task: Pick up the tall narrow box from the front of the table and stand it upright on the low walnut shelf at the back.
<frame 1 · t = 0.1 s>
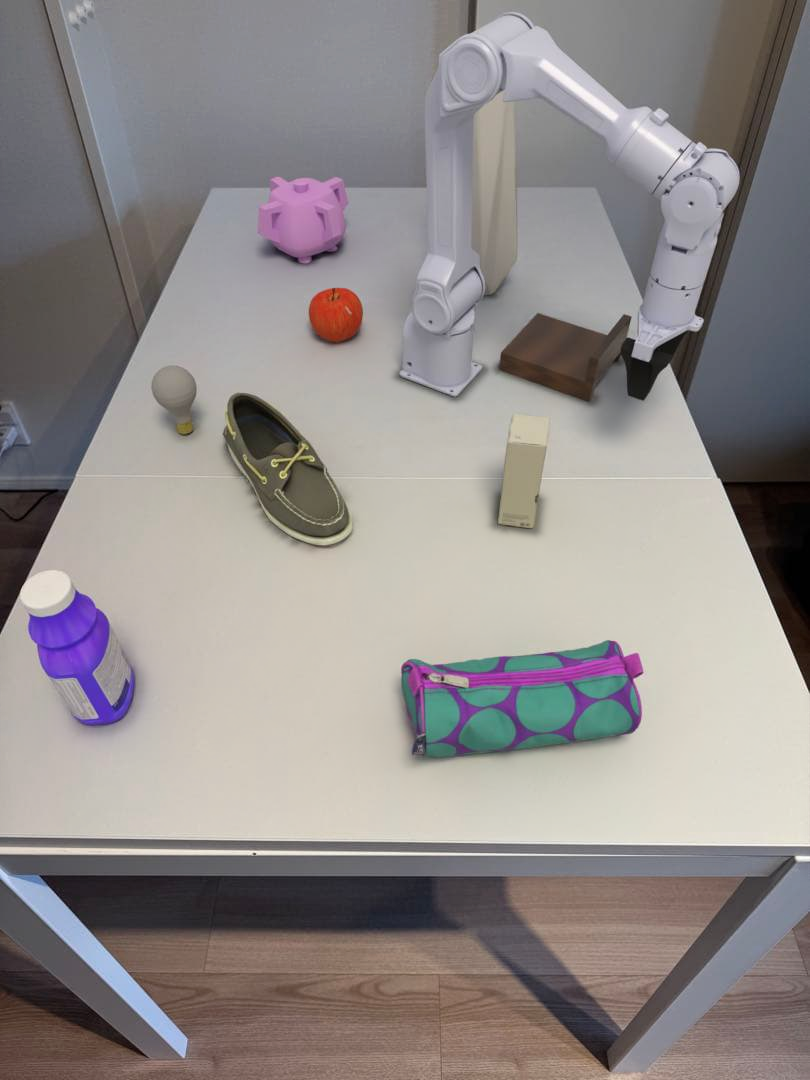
hand: (647, 379, 93), 10 cm above the table, tool pointing down, fingers open, 7 cm apart
bottle: (107, 698, 76), on the table
pencil case: (513, 723, 74), on the table
light bulb: (187, 433, 103), on the table
apple: (337, 336, 117), on the table
vase: (476, 285, 127), on the table
box: (517, 513, 92), on the table
boat shoe: (289, 487, 96), on the table
shelf: (560, 364, 112), on the table
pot: (307, 249, 135), on the table
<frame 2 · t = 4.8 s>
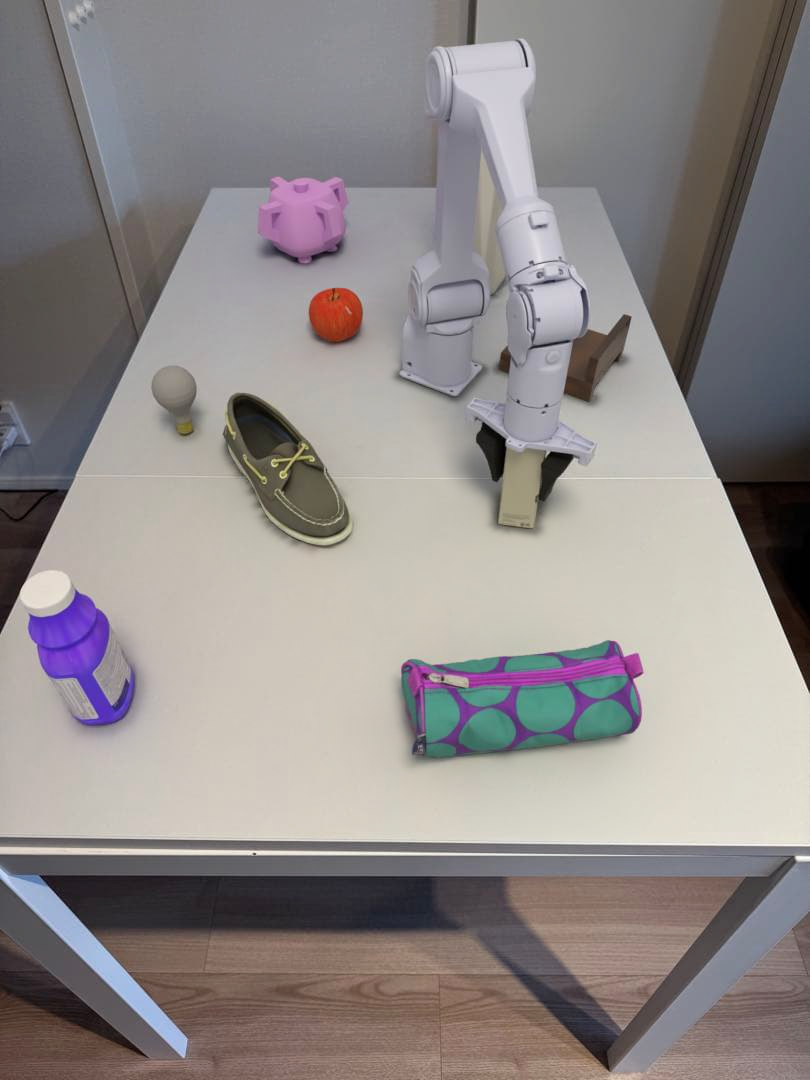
hand: (521, 485, 89), 4 cm above the table, tool pointing down, fingers closed on box, 5 cm apart
box: (517, 513, 92), on the table, touching gripper
everything else where it was.
when the fingers open (7 cm above the table, at t = 10.0 s): box stays where it is, resting on shelf.
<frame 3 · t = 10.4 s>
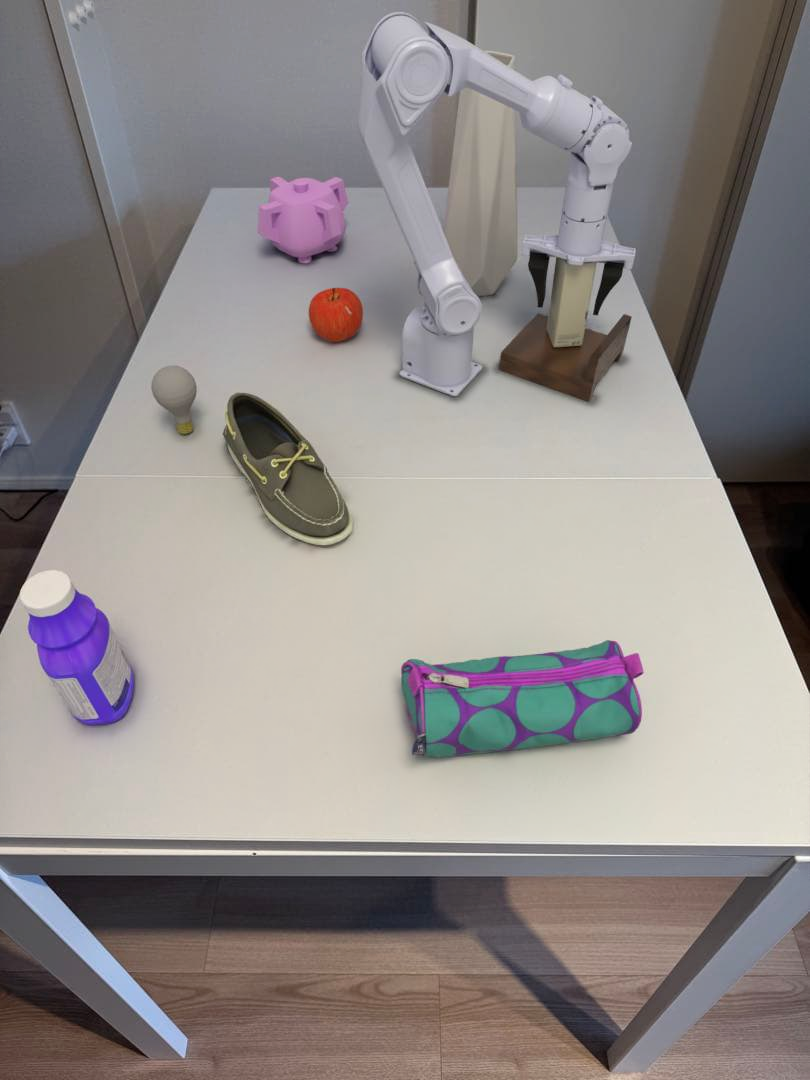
hand: (568, 307, 107), 8 cm above the table, tool pointing down, fingers open, 7 cm apart
box: (563, 338, 111), point 3 cm above the table, touching shelf
everything else where it was.
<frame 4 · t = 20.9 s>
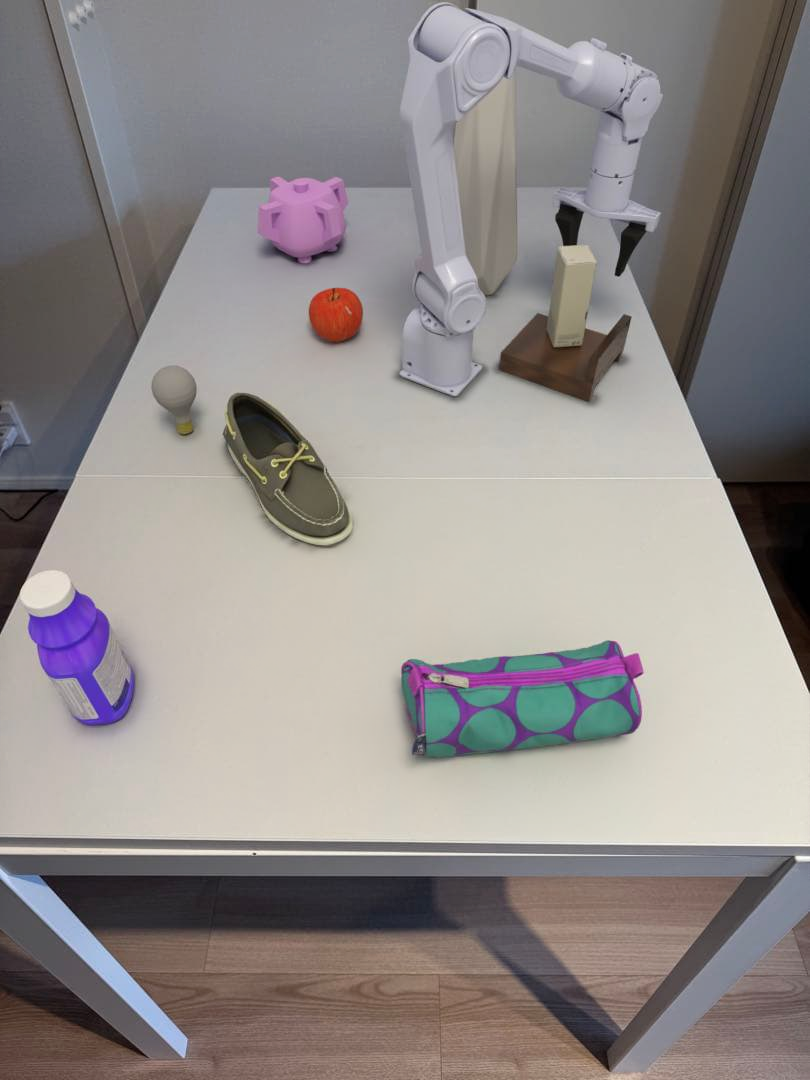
hand: (594, 265, 110), 10 cm above the table, tool pointing down, fingers open, 7 cm apart
nothing on the table moved.
at the end: box inside the target area on the shelf (1.1 cm from its centre), point 2.8 cm above the shelf's base; box tilted 0°; the gripper is holding nothing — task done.
